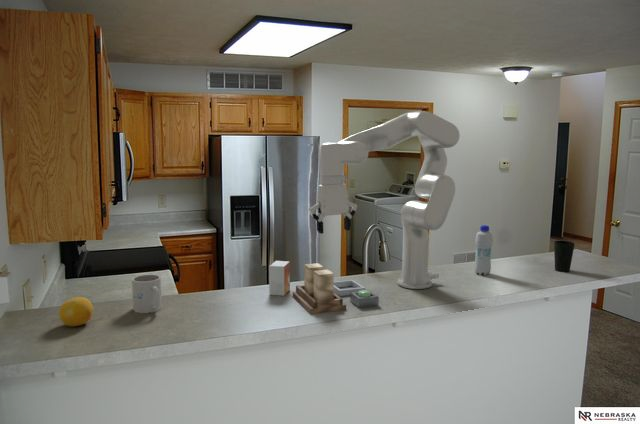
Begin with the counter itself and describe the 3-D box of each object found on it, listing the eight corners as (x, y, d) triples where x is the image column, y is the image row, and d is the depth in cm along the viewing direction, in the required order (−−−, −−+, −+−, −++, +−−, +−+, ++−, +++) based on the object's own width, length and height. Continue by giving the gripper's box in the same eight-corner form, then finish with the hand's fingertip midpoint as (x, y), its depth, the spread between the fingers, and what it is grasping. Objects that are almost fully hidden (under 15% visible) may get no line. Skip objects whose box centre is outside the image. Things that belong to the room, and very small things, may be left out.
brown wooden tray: (324, 292, 176) (324, 282, 175) (346, 309, 158) (346, 298, 157) (292, 295, 171) (292, 286, 171) (310, 313, 154) (310, 303, 153)
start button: (367, 298, 166) (367, 289, 166) (372, 302, 163) (372, 293, 162) (356, 299, 165) (356, 290, 165) (361, 303, 161) (361, 294, 161)
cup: (576, 273, 203) (578, 244, 201) (557, 272, 203) (559, 244, 201) (567, 268, 210) (569, 240, 208) (548, 268, 210) (550, 240, 208)
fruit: (59, 331, 139) (57, 304, 137) (61, 322, 146) (59, 296, 145) (93, 327, 142) (91, 300, 141) (94, 318, 149) (92, 292, 148)
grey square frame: (352, 285, 184) (352, 279, 184) (364, 293, 175) (365, 287, 174) (328, 287, 181) (328, 282, 181) (339, 296, 171) (339, 290, 171)
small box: (284, 296, 171) (284, 266, 169) (268, 295, 172) (268, 265, 171) (290, 289, 179) (290, 261, 177) (275, 288, 180) (275, 260, 178)
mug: (130, 307, 159) (129, 276, 158) (158, 302, 164) (156, 273, 162) (139, 318, 149) (137, 286, 148) (168, 313, 154) (167, 282, 152)
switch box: (369, 298, 168) (369, 290, 168) (378, 305, 162) (378, 296, 161) (350, 301, 166) (350, 292, 166) (359, 307, 159) (359, 298, 159)
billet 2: (327, 298, 164) (328, 269, 162) (333, 303, 159) (333, 273, 157) (313, 300, 162) (313, 270, 160) (318, 305, 157) (318, 274, 156)
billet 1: (318, 291, 172) (318, 263, 170) (323, 295, 167) (323, 266, 166) (304, 292, 170) (304, 264, 169) (309, 297, 165) (309, 267, 164)
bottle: (476, 270, 205) (479, 223, 202) (493, 273, 202) (495, 225, 199) (471, 274, 200) (473, 225, 197) (487, 276, 196) (490, 227, 193)
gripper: (351, 178, 170) (352, 227, 172) (304, 181, 163) (305, 232, 166) (361, 179, 163) (362, 230, 166) (312, 183, 156) (314, 236, 159)
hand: (334, 231), depth 166 cm, fingers open, 9 cm apart
